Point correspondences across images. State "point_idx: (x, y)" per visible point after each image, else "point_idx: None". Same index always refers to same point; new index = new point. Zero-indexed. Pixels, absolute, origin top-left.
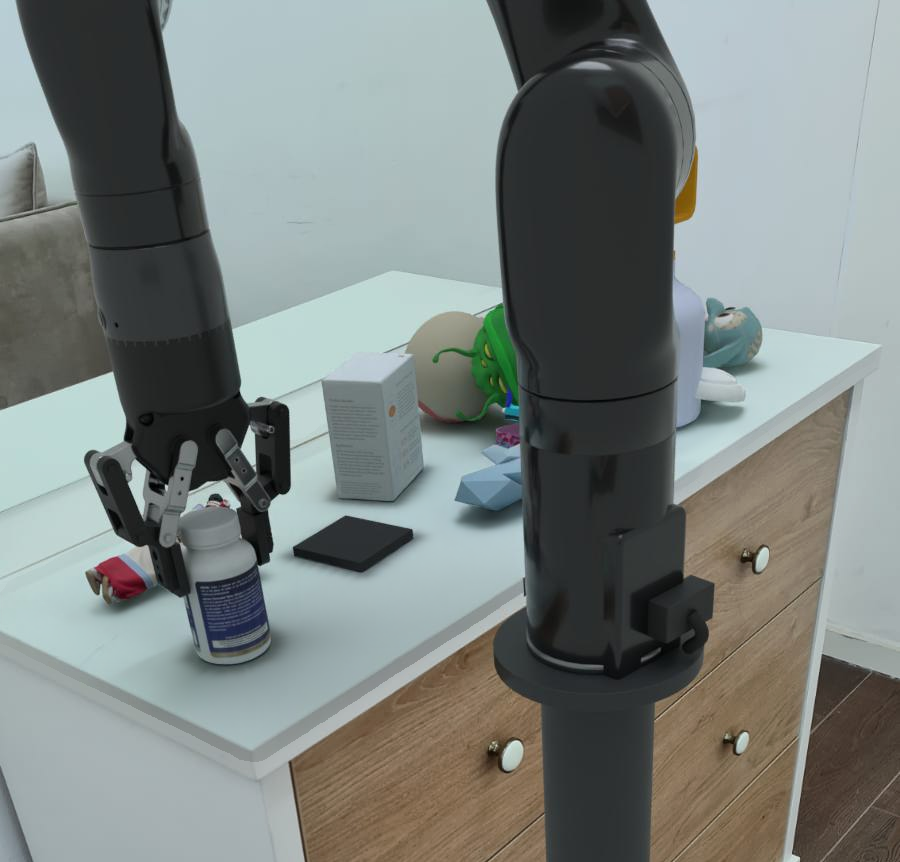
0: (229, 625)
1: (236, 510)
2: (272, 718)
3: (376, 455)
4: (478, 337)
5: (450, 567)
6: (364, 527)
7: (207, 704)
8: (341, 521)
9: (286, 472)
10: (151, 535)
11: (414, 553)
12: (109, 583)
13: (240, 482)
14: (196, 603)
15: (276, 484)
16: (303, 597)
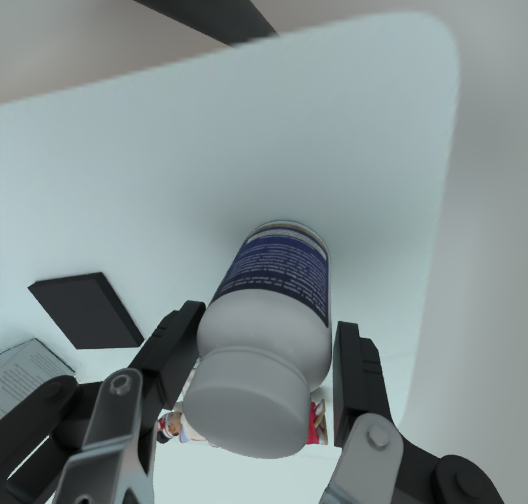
0: (304, 253)
1: (173, 406)
2: (378, 58)
3: (1, 383)
4: None
5: (16, 207)
6: (68, 323)
7: (401, 178)
8: (83, 345)
9: (15, 418)
10: (412, 469)
11: (43, 260)
12: (315, 418)
13: (123, 469)
14: (329, 306)
15: (60, 405)
16: (172, 281)
